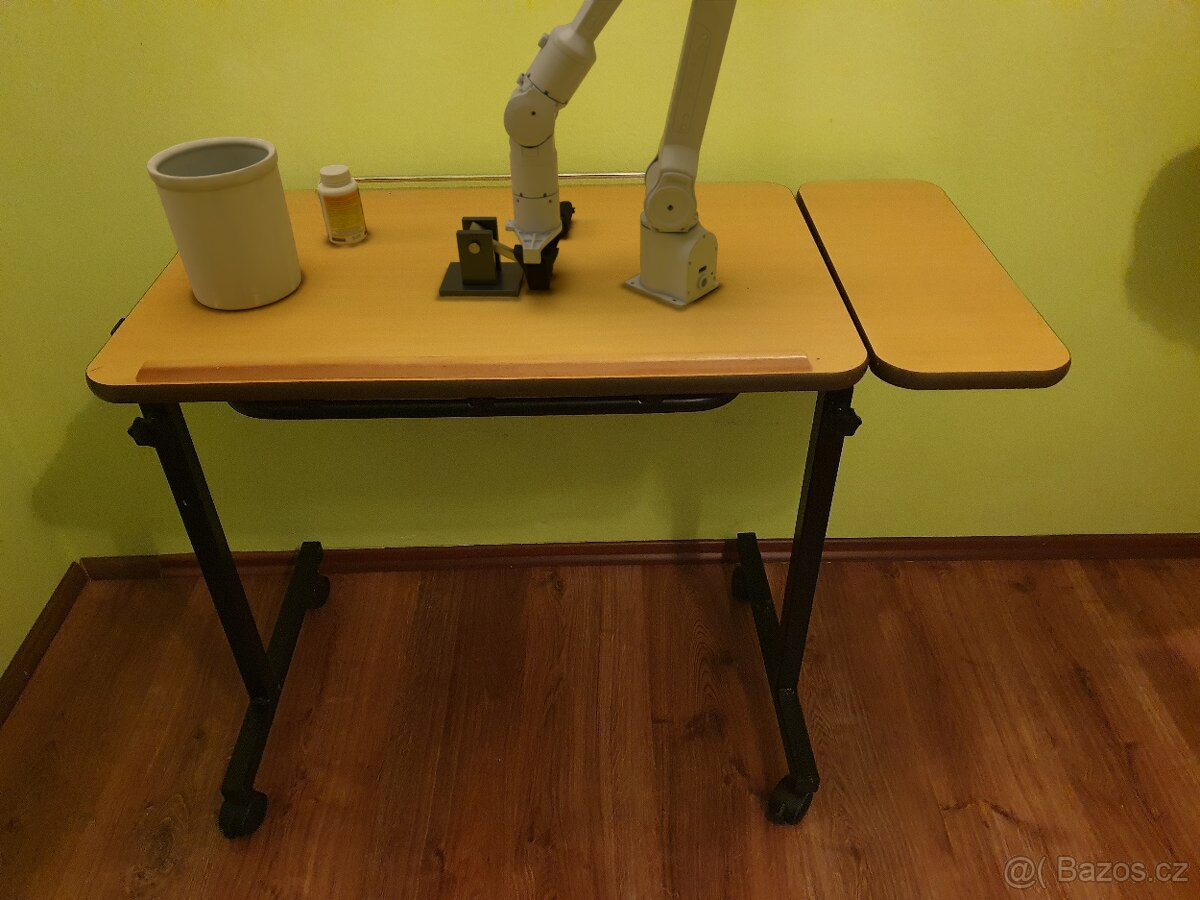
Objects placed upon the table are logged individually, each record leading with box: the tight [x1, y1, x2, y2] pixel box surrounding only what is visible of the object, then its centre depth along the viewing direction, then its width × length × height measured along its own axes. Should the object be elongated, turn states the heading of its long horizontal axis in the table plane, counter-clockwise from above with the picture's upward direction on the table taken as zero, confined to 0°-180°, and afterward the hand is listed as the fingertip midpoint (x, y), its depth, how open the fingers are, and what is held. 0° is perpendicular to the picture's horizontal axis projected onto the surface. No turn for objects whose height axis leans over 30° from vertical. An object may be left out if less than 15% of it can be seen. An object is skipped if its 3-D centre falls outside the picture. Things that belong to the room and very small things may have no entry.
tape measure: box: [559, 200, 576, 236], centre depth 129 cm, size 7×7×4 cm
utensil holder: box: [146, 135, 302, 311], centre depth 114 cm, size 15×15×18 cm
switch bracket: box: [438, 216, 524, 298], centre depth 116 cm, size 10×8×8 cm
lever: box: [469, 222, 518, 263], centre depth 115 cm, size 12×3×3 cm, turn 88°
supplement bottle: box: [316, 163, 368, 246], centre depth 127 cm, size 6×6×10 cm
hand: (541, 289), depth 118 cm, fingers closed on lever, 3 cm apart
